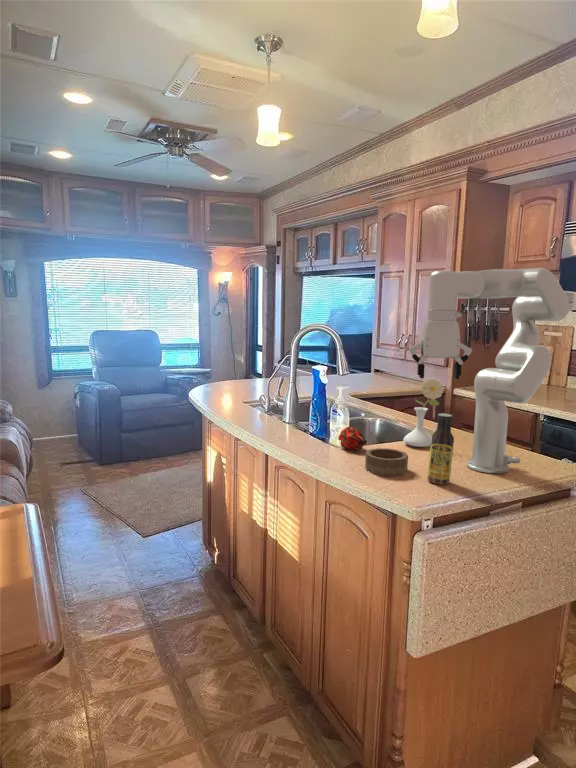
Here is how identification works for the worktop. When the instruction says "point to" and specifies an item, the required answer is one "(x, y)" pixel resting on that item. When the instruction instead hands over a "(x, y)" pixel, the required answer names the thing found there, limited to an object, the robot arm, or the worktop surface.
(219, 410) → the worktop surface
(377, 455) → the bottle holder
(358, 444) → the dragon fruit
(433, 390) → the flower in vase
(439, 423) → the sauce bottle
